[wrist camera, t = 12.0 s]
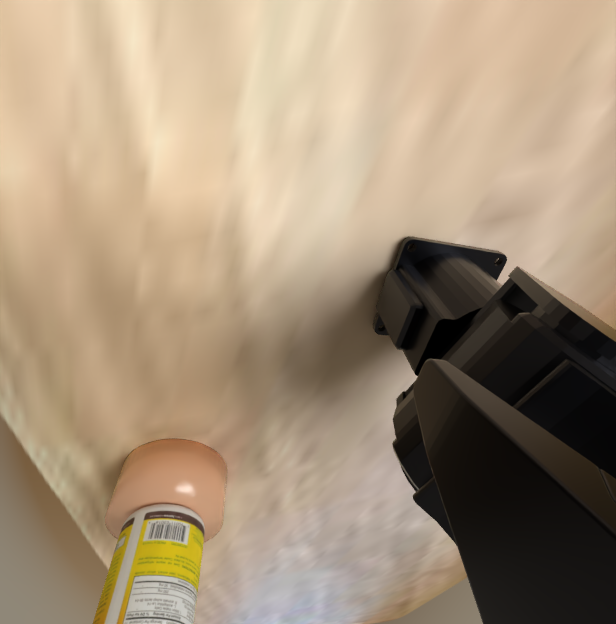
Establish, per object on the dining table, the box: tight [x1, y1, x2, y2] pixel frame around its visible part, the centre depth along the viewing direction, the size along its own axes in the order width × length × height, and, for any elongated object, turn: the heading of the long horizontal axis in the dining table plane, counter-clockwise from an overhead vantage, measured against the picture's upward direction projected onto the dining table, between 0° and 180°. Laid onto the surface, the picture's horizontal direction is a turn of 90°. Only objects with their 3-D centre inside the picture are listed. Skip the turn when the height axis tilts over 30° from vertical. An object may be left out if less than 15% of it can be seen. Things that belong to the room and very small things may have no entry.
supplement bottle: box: [93, 504, 205, 624], centre depth 22 cm, size 6×6×10 cm
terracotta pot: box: [105, 439, 227, 543], centre depth 28 cm, size 8×8×4 cm
